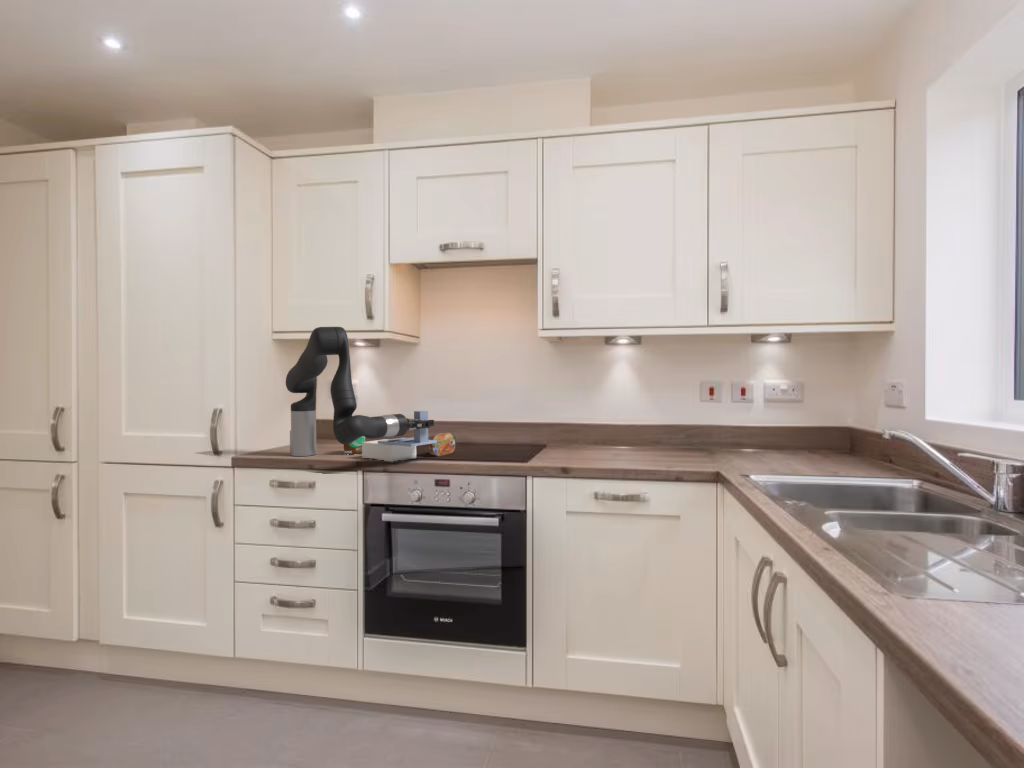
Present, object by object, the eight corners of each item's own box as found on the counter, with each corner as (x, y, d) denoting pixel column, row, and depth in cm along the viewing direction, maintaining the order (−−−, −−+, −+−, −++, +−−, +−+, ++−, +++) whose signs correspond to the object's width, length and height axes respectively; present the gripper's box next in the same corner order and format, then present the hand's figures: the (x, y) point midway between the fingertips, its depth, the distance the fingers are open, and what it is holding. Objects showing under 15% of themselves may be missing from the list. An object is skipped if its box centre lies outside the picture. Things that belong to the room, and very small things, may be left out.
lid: (377, 443, 201) (377, 410, 201) (404, 439, 211) (403, 408, 211) (410, 446, 191) (410, 412, 191) (436, 442, 202) (436, 410, 201)
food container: (355, 456, 212) (355, 430, 212) (341, 455, 214) (341, 429, 214) (373, 452, 223) (373, 427, 223) (360, 451, 225) (360, 426, 225)
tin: (432, 457, 209) (432, 435, 208) (426, 456, 210) (426, 434, 210) (457, 452, 221) (456, 431, 221) (450, 452, 223) (450, 431, 223)
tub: (362, 458, 207) (362, 442, 206) (386, 454, 216) (386, 439, 216) (392, 462, 197) (391, 445, 197) (416, 457, 207) (416, 441, 207)
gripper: (405, 415, 181) (440, 412, 195) (376, 413, 189) (411, 411, 203) (405, 438, 181) (440, 433, 195) (376, 435, 190) (411, 431, 203)
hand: (425, 422), depth 199 cm, fingers open, 7 cm apart
